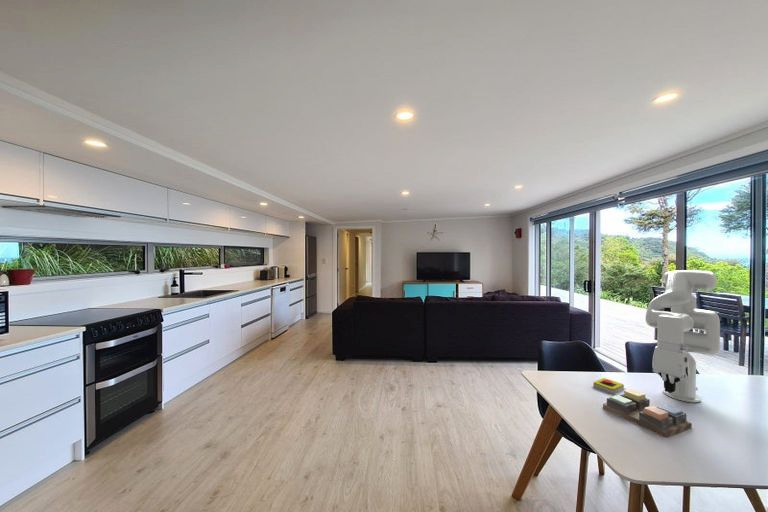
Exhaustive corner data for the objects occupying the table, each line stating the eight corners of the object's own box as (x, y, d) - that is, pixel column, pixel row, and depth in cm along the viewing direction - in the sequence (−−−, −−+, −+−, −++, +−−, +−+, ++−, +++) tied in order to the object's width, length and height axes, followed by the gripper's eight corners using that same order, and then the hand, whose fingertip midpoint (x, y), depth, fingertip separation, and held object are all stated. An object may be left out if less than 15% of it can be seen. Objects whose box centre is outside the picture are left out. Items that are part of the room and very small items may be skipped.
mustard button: (631, 396, 132) (631, 389, 132) (645, 402, 127) (645, 394, 127) (624, 398, 130) (624, 390, 130) (637, 404, 125) (638, 396, 125)
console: (627, 401, 134) (627, 390, 134) (691, 428, 114) (691, 415, 114) (602, 408, 128) (602, 396, 128) (666, 437, 108) (666, 424, 108)
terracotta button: (651, 414, 117) (651, 405, 117) (668, 420, 112) (668, 412, 112) (643, 416, 115) (643, 407, 115) (660, 423, 110) (660, 414, 110)
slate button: (665, 412, 121) (665, 404, 121) (681, 419, 116) (681, 410, 116) (657, 415, 119) (657, 406, 119) (674, 422, 114) (674, 413, 114)
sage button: (618, 402, 128) (618, 395, 128) (632, 408, 124) (632, 400, 124) (610, 405, 126) (610, 397, 126) (624, 411, 122) (624, 402, 122)
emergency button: (590, 380, 148) (605, 374, 156) (590, 388, 148) (605, 382, 156) (612, 387, 140) (626, 381, 147) (612, 396, 140) (626, 389, 147)
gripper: (700, 350, 111) (700, 398, 112) (652, 339, 125) (652, 382, 126) (689, 353, 109) (689, 402, 109) (642, 341, 123) (641, 385, 123)
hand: (669, 391), depth 117 cm, fingers closed
